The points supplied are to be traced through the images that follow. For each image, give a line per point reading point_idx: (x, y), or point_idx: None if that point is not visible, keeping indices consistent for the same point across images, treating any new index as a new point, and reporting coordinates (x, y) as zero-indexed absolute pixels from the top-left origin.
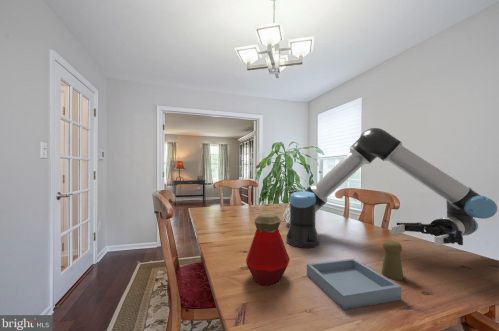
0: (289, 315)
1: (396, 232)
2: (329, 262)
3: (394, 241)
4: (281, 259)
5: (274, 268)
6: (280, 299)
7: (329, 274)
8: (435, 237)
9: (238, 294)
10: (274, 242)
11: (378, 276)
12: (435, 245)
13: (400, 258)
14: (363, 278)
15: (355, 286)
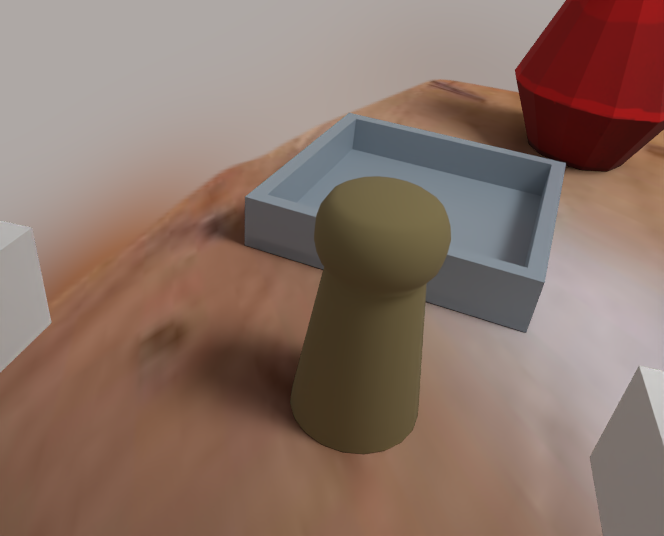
0: (403, 110)
1: (607, 509)
2: (545, 201)
3: (384, 207)
4: (537, 62)
5: (518, 70)
6: (460, 124)
7: (504, 218)
8: (22, 232)
9: (519, 106)
10: (568, 4)
11: None
12: (43, 321)
13: (319, 300)
14: None
15: None
